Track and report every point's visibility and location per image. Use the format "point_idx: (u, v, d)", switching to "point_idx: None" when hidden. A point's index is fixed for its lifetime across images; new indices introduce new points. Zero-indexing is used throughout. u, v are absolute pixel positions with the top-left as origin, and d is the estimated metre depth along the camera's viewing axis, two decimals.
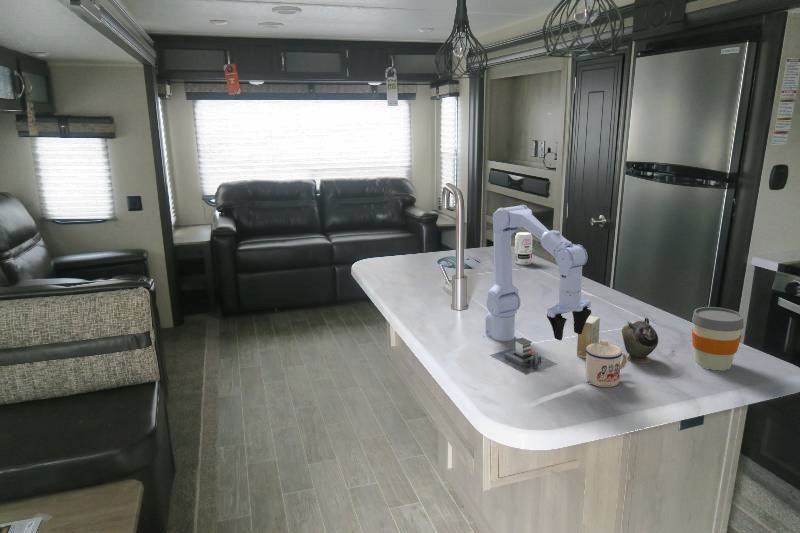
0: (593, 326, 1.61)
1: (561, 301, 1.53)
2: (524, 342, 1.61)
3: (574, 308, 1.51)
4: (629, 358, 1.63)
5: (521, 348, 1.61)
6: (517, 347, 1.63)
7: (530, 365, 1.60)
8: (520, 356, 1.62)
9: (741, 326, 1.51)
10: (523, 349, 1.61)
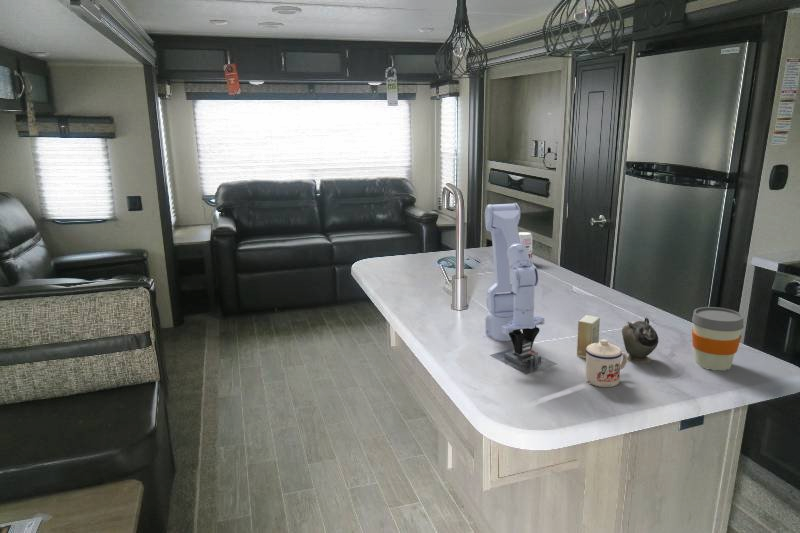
0: (593, 326, 1.61)
1: (515, 318, 1.60)
2: (524, 342, 1.61)
3: (527, 325, 1.58)
4: (629, 358, 1.63)
5: None
6: None
7: (530, 365, 1.60)
8: (520, 356, 1.62)
9: (741, 326, 1.51)
10: (523, 349, 1.61)
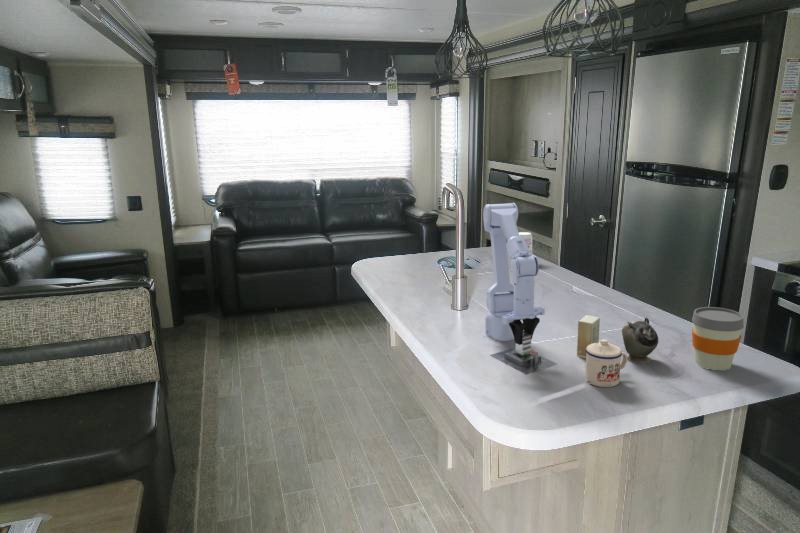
0: (593, 326, 1.61)
1: (515, 309, 1.59)
2: (524, 335, 1.61)
3: (527, 315, 1.58)
4: (629, 358, 1.63)
5: None
6: None
7: (530, 365, 1.60)
8: (520, 349, 1.62)
9: (741, 326, 1.51)
10: (523, 342, 1.61)
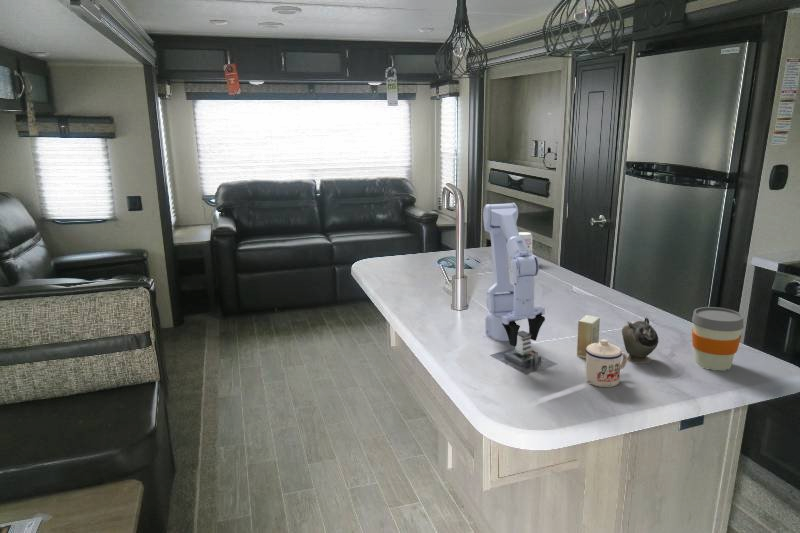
0: (593, 326, 1.61)
1: (515, 308, 1.59)
2: (524, 335, 1.61)
3: (527, 315, 1.57)
4: (629, 358, 1.63)
5: (521, 341, 1.61)
6: (517, 339, 1.62)
7: (530, 365, 1.60)
8: (520, 349, 1.62)
9: (741, 326, 1.51)
10: (523, 342, 1.61)
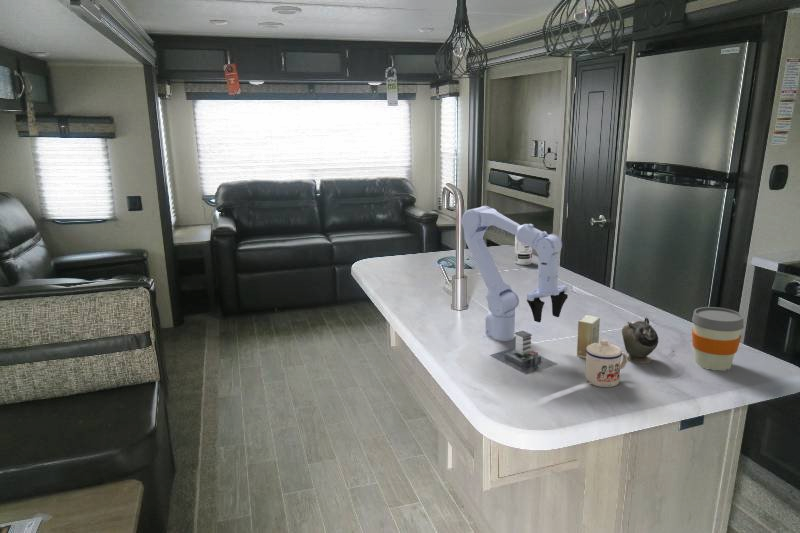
0: (593, 326, 1.61)
1: (539, 286, 1.66)
2: (524, 335, 1.61)
3: (551, 292, 1.65)
4: (629, 358, 1.63)
5: (521, 341, 1.61)
6: (517, 339, 1.62)
7: (530, 365, 1.60)
8: (520, 349, 1.62)
9: (741, 326, 1.51)
10: (523, 342, 1.61)
